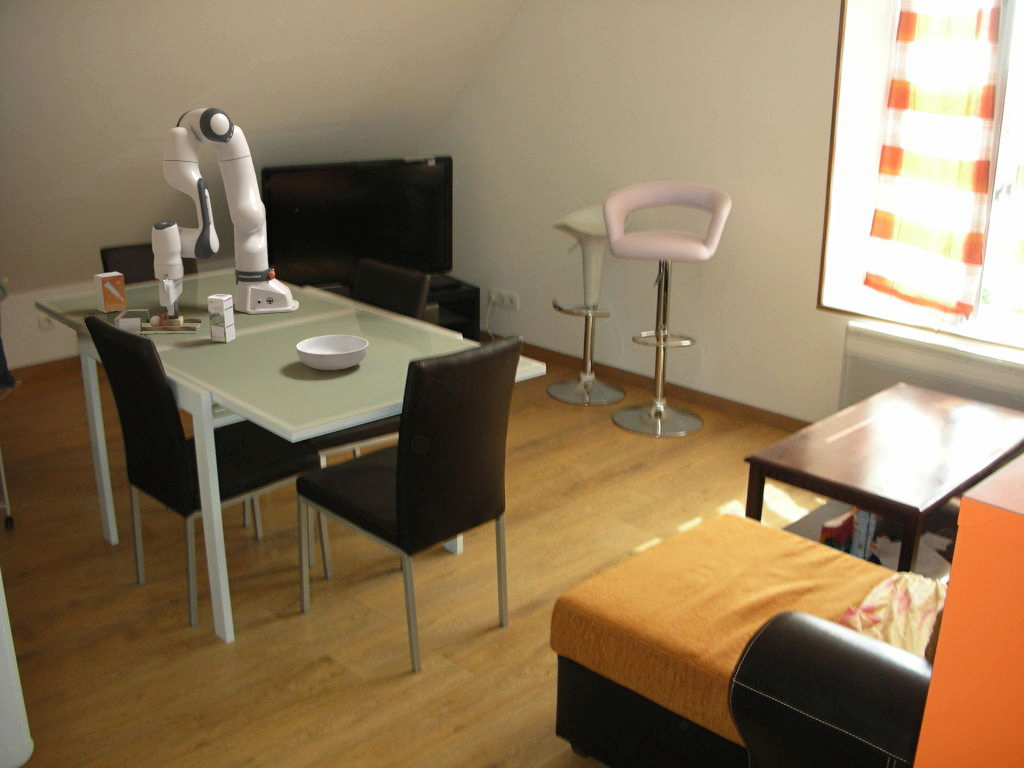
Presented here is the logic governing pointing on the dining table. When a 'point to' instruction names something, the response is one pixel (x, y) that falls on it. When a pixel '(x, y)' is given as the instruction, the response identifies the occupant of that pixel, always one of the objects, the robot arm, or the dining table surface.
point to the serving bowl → (332, 351)
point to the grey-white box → (132, 319)
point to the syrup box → (221, 318)
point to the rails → (175, 328)
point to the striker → (172, 318)
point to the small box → (110, 291)
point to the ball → (155, 321)
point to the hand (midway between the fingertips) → (172, 313)
